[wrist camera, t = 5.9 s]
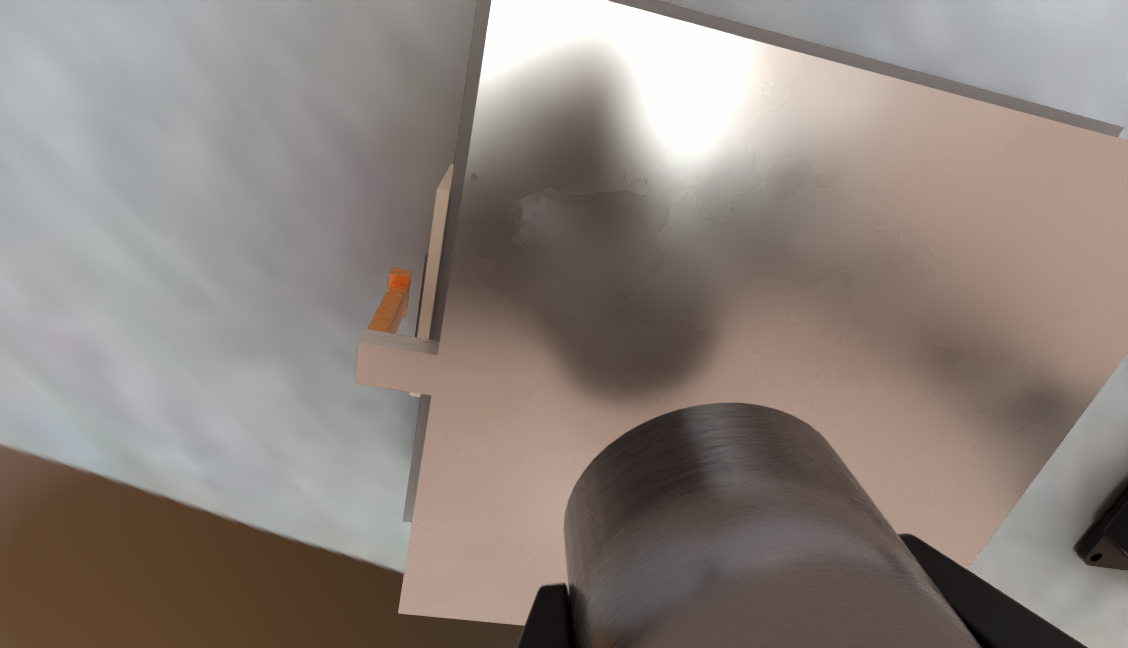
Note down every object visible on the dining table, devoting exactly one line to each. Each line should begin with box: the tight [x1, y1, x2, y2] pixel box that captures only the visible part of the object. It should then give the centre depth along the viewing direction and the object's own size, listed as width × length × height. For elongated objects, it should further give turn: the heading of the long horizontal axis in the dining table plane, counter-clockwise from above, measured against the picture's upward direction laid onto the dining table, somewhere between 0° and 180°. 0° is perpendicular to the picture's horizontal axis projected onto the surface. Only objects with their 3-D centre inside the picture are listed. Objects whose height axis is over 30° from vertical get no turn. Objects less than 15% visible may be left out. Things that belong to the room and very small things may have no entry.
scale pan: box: [355, 0, 1128, 625], centre depth 15 cm, size 17×15×4 cm
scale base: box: [403, 0, 1124, 522], centre depth 18 cm, size 16×16×3 cm
